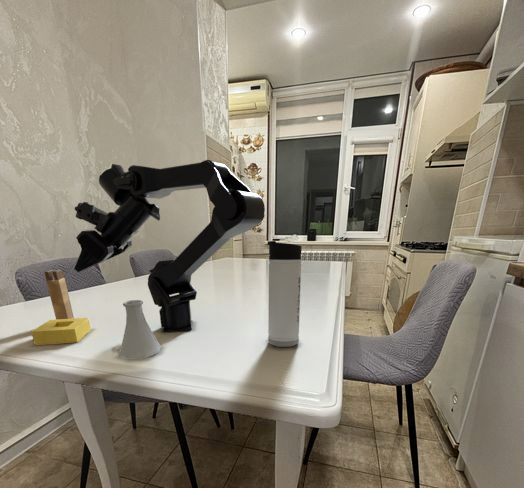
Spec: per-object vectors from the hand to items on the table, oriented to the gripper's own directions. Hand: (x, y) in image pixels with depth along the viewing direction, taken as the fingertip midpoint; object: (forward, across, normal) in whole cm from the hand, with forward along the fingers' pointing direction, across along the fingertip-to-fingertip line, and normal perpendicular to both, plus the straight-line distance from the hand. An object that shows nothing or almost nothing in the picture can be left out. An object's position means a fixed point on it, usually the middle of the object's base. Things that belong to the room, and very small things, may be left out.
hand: (85, 266), depth 68 cm
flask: (-3, +21, +20) cm, 30 cm away
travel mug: (-23, +21, +39) cm, 50 cm away
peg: (+15, 0, +5) cm, 16 cm away
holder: (+11, +10, +8) cm, 17 cm away
